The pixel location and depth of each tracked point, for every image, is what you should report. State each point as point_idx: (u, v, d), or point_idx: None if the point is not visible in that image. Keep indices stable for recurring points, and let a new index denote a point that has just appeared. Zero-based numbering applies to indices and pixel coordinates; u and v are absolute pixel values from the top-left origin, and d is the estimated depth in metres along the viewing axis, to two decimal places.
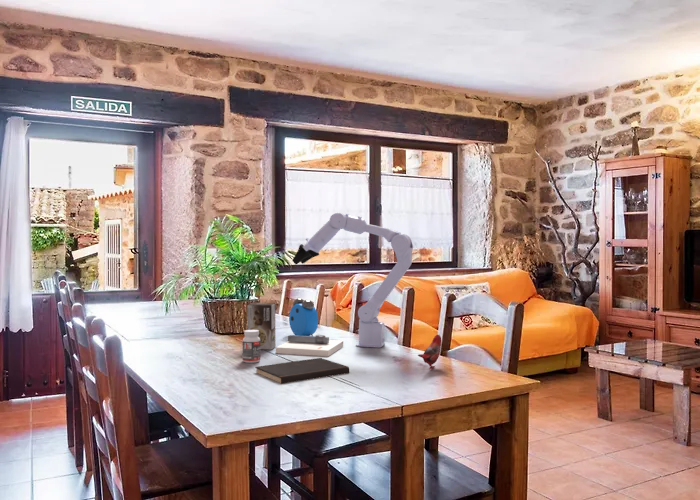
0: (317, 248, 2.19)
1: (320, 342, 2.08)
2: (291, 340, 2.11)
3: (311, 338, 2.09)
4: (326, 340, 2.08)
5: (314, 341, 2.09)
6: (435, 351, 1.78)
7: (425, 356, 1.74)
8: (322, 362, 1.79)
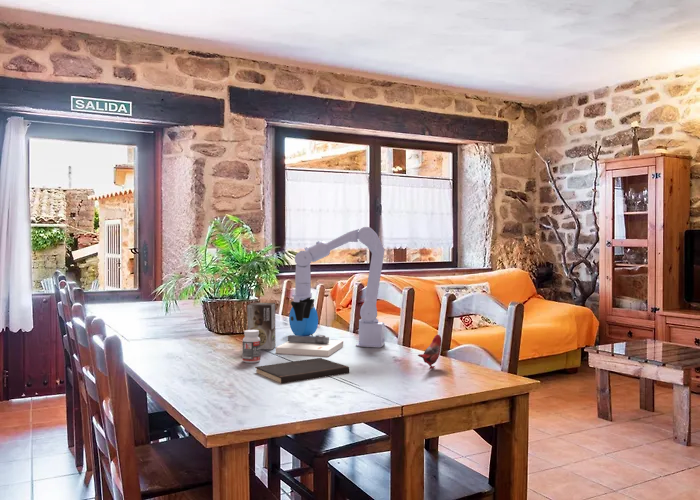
0: (306, 293, 2.15)
1: (320, 342, 2.08)
2: (291, 340, 2.11)
3: (311, 338, 2.09)
4: (326, 340, 2.08)
5: (314, 341, 2.09)
6: (435, 351, 1.78)
7: (425, 356, 1.74)
8: (322, 362, 1.80)
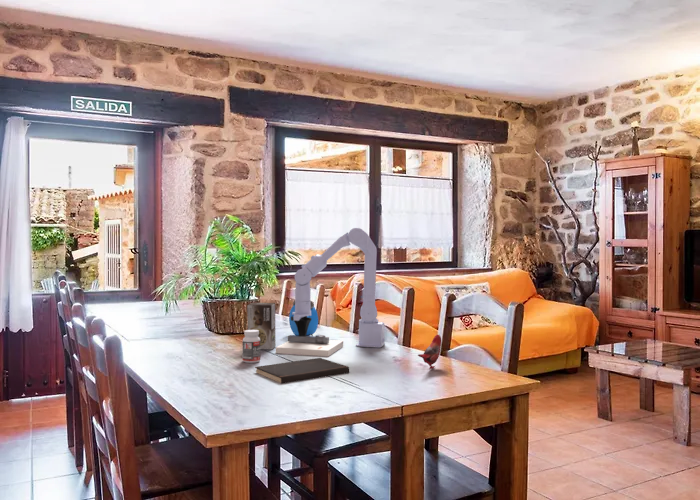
0: (306, 311, 2.15)
1: (320, 342, 2.08)
2: (291, 340, 2.11)
3: (311, 338, 2.09)
4: (326, 340, 2.08)
5: (314, 341, 2.09)
6: (435, 351, 1.78)
7: (425, 356, 1.74)
8: (322, 362, 1.80)
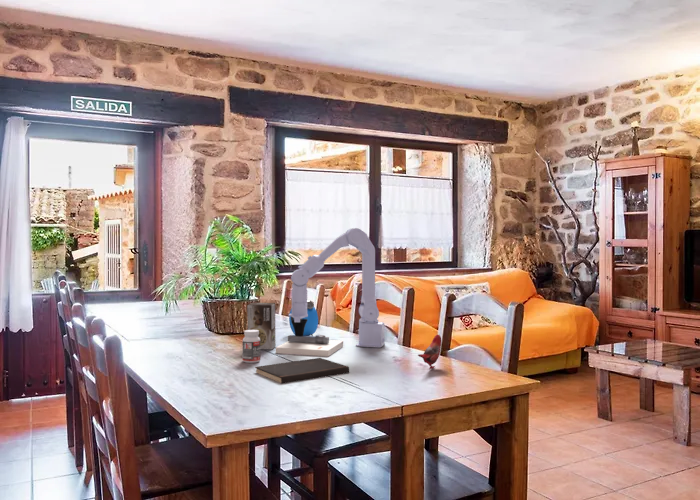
0: (304, 313, 2.12)
1: (320, 342, 2.08)
2: (291, 340, 2.11)
3: (311, 338, 2.09)
4: (326, 340, 2.08)
5: (314, 341, 2.09)
6: (435, 351, 1.78)
7: (425, 356, 1.74)
8: (322, 362, 1.80)
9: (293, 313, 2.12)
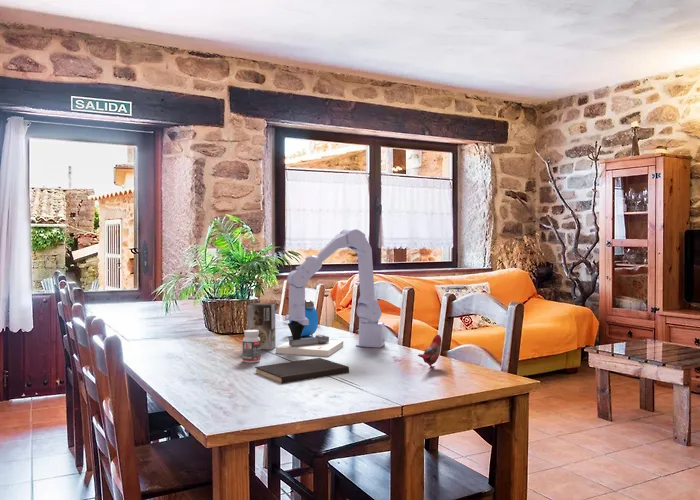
0: (304, 315, 2.05)
1: (324, 342, 2.09)
2: (295, 344, 2.03)
3: (314, 339, 2.07)
4: (328, 339, 2.10)
5: (316, 342, 2.08)
6: (435, 351, 1.78)
7: (425, 356, 1.74)
8: (322, 362, 1.80)
9: (294, 316, 2.03)
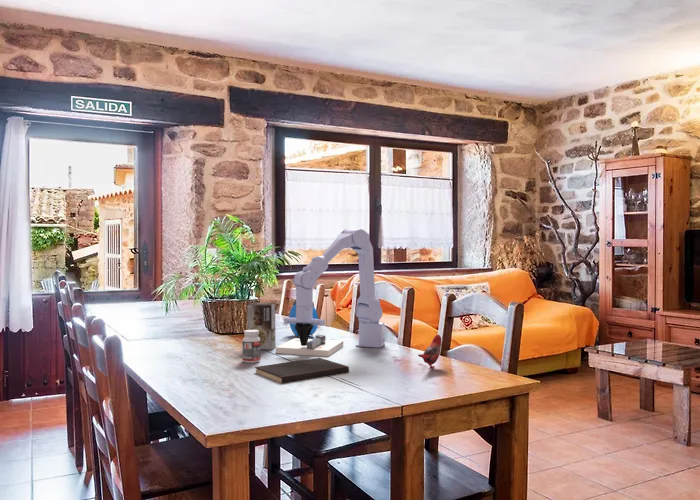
0: None
1: None
2: (313, 347, 1.99)
3: (320, 340, 2.06)
4: (325, 338, 2.12)
5: (321, 342, 2.07)
6: (435, 351, 1.78)
7: (425, 356, 1.73)
8: (321, 362, 1.80)
9: (307, 318, 1.99)
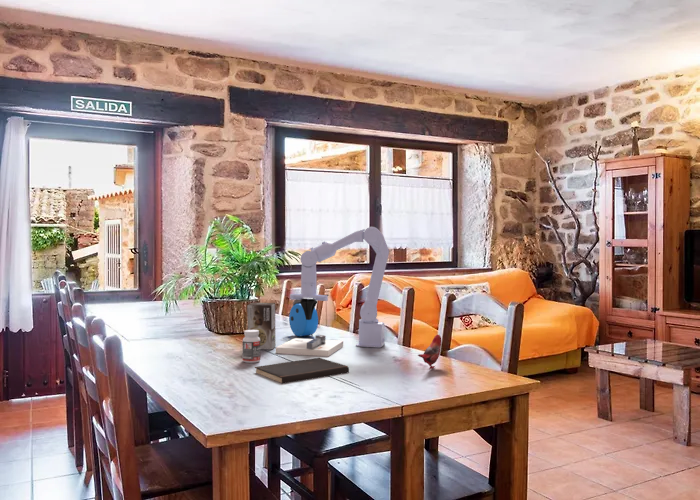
0: None
1: None
2: (313, 347, 1.99)
3: (320, 340, 2.06)
4: (325, 338, 2.12)
5: (321, 342, 2.07)
6: (435, 351, 1.78)
7: (425, 356, 1.73)
8: (321, 362, 1.80)
9: (311, 294, 2.15)
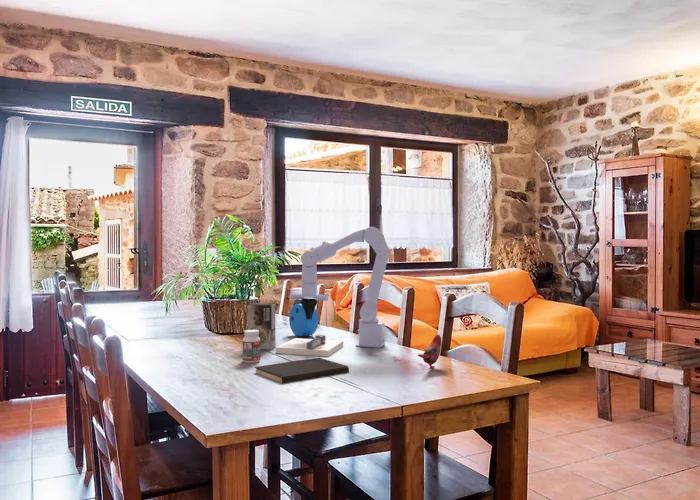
0: None
1: None
2: (313, 347, 1.99)
3: (320, 340, 2.06)
4: (325, 338, 2.12)
5: (321, 342, 2.07)
6: (435, 351, 1.78)
7: (425, 356, 1.74)
8: (321, 362, 1.80)
9: (312, 293, 2.16)
